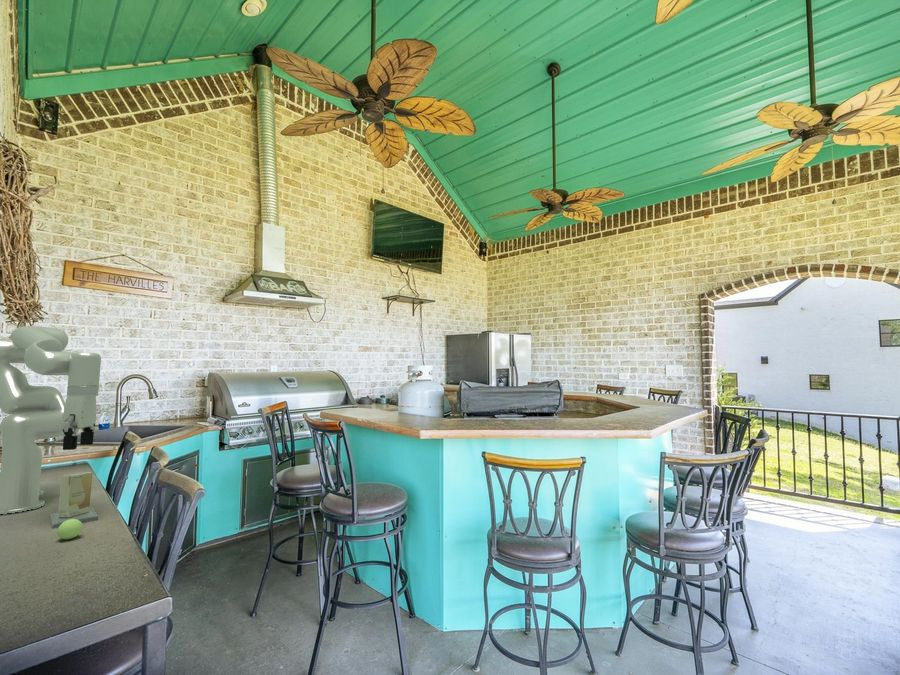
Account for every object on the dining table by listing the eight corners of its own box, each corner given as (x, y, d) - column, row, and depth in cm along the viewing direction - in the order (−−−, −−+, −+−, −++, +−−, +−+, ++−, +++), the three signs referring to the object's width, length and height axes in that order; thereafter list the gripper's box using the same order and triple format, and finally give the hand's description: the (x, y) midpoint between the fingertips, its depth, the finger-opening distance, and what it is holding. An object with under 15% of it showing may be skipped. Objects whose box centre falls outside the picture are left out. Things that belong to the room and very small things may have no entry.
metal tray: (49, 517, 129) (50, 513, 129) (92, 509, 136) (92, 506, 136) (52, 528, 119) (52, 524, 119) (97, 519, 126) (98, 515, 127)
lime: (63, 536, 113) (64, 517, 113) (85, 534, 114) (86, 515, 115) (52, 543, 108) (53, 523, 109) (75, 541, 110) (77, 521, 110)
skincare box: (68, 518, 125) (71, 476, 126) (56, 517, 125) (60, 475, 127) (90, 511, 131) (93, 471, 132) (79, 510, 132) (82, 471, 133)
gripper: (82, 390, 139) (78, 443, 137) (51, 392, 122) (46, 452, 121) (110, 390, 141) (106, 442, 139) (83, 392, 124) (78, 451, 123)
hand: (78, 446), depth 130 cm, fingers open, 9 cm apart
